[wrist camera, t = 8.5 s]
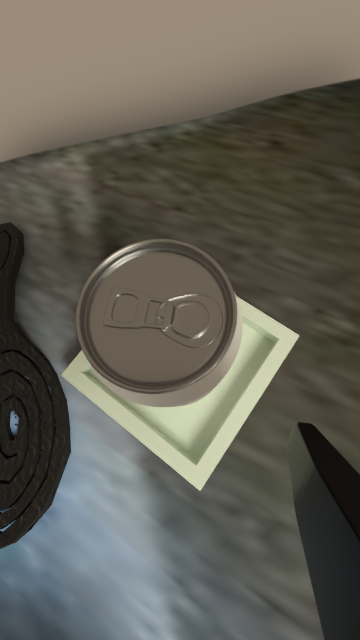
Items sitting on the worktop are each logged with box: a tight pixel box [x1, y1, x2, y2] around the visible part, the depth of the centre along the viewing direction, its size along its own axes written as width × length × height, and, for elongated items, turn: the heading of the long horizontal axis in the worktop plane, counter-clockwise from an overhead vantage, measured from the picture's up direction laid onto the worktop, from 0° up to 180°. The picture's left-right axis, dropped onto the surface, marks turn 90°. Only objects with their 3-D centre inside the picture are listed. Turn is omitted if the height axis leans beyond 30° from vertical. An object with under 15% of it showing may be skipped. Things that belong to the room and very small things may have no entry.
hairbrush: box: [0, 223, 71, 549], centre depth 22 cm, size 8×4×25 cm
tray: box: [61, 296, 299, 491], centre depth 21 cm, size 12×12×2 cm
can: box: [76, 239, 242, 407], centre depth 16 cm, size 6×6×12 cm
